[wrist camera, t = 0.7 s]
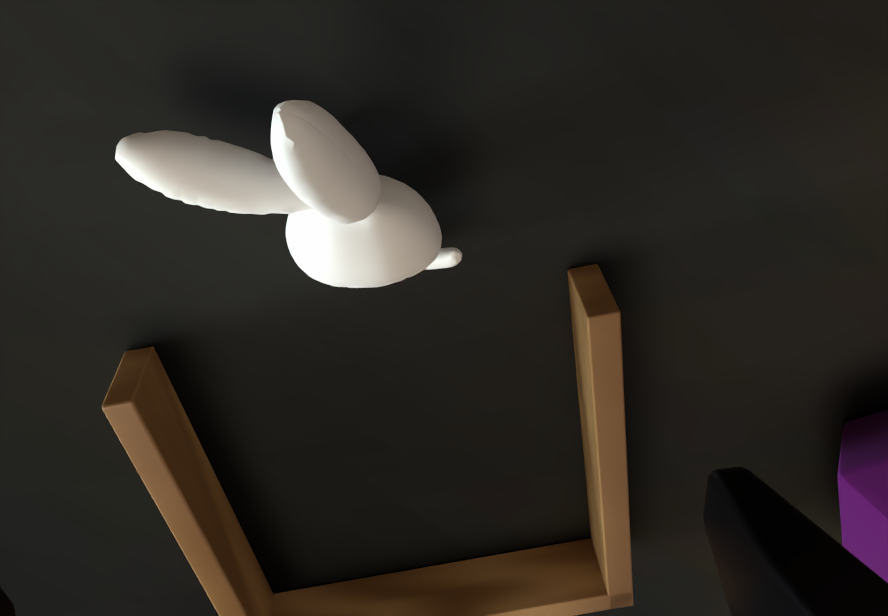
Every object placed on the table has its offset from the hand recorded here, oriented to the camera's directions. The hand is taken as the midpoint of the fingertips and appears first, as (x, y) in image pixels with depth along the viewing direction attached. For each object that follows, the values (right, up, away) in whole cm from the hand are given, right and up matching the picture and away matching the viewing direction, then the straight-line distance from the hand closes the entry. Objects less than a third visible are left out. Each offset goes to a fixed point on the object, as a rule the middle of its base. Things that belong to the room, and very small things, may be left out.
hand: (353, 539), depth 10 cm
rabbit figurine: (-2, +7, +10) cm, 12 cm away
